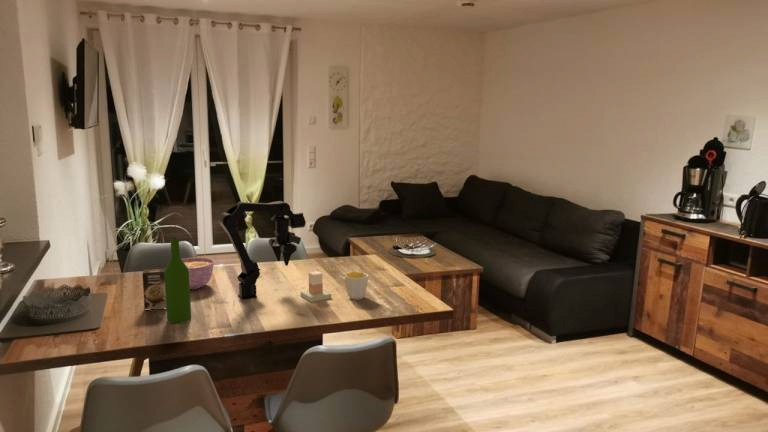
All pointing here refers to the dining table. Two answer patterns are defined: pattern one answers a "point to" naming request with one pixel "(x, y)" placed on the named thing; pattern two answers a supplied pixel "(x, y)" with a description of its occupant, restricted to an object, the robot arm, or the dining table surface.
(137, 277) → the dining table surface
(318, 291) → the orange brown cube
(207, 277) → the bowl of food
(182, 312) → the wine bottle
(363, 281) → the mug
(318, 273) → the brick cream
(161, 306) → the coffee box
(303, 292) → the base plate
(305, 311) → the dining table surface
